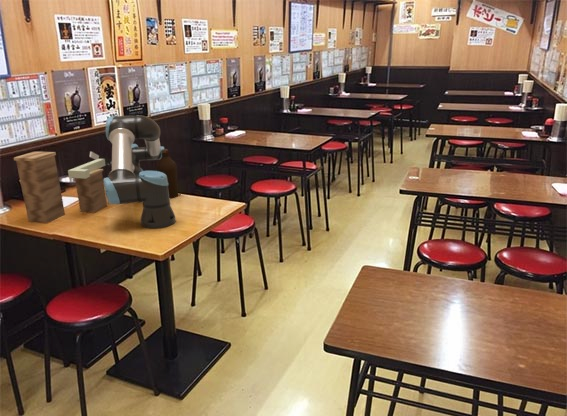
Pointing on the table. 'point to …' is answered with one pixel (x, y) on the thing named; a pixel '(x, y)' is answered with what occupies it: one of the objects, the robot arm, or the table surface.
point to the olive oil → (169, 172)
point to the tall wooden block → (40, 186)
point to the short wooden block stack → (91, 192)
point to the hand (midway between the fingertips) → (102, 154)
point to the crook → (86, 169)
